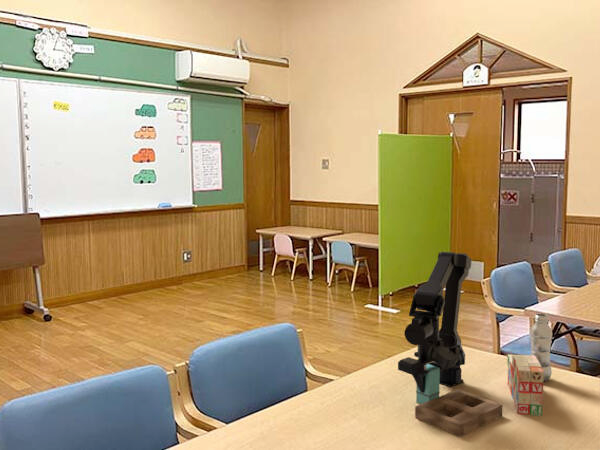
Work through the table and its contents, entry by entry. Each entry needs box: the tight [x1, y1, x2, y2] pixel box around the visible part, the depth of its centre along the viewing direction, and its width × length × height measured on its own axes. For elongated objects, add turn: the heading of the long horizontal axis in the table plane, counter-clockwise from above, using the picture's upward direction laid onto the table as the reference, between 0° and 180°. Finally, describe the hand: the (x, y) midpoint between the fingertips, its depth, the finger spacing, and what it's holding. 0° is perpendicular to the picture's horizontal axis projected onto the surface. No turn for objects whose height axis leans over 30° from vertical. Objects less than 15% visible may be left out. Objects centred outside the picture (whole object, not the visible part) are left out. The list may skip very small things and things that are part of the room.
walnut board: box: [414, 389, 503, 438], centre depth 152 cm, size 14×18×3 cm
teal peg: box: [415, 364, 441, 405], centre depth 161 cm, size 4×4×10 cm
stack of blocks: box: [507, 354, 544, 416], centre depth 163 cm, size 21×6×12 cm, turn 168°
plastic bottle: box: [529, 313, 553, 382], centre depth 176 cm, size 6×7×20 cm
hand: (427, 390), depth 161 cm, fingers closed on teal peg, 4 cm apart
